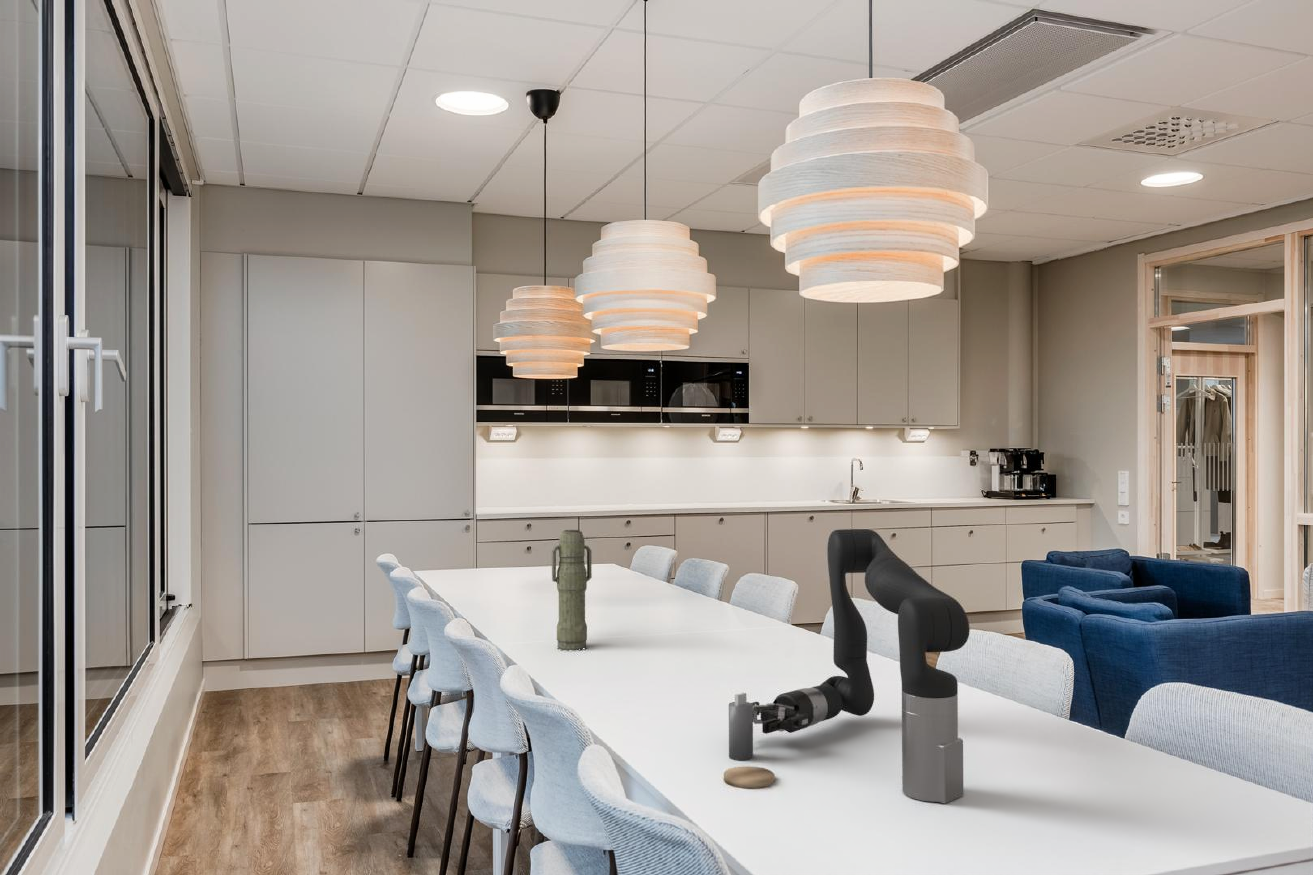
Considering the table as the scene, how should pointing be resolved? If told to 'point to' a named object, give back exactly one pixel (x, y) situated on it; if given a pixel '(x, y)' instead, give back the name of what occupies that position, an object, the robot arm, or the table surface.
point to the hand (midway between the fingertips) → (747, 723)
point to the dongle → (740, 729)
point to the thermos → (571, 589)
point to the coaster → (749, 777)
